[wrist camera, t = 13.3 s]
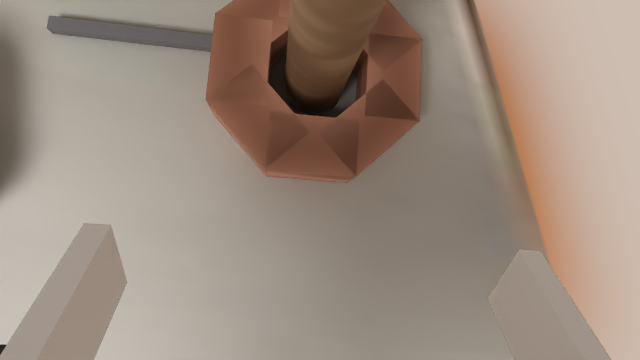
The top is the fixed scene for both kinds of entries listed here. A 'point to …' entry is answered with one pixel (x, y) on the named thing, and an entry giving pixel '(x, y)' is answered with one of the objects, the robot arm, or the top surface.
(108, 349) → the top surface
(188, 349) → the top surface
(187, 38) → the grey thin bar
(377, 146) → the terracotta faceted ring
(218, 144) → the top surface
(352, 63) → the dowel
